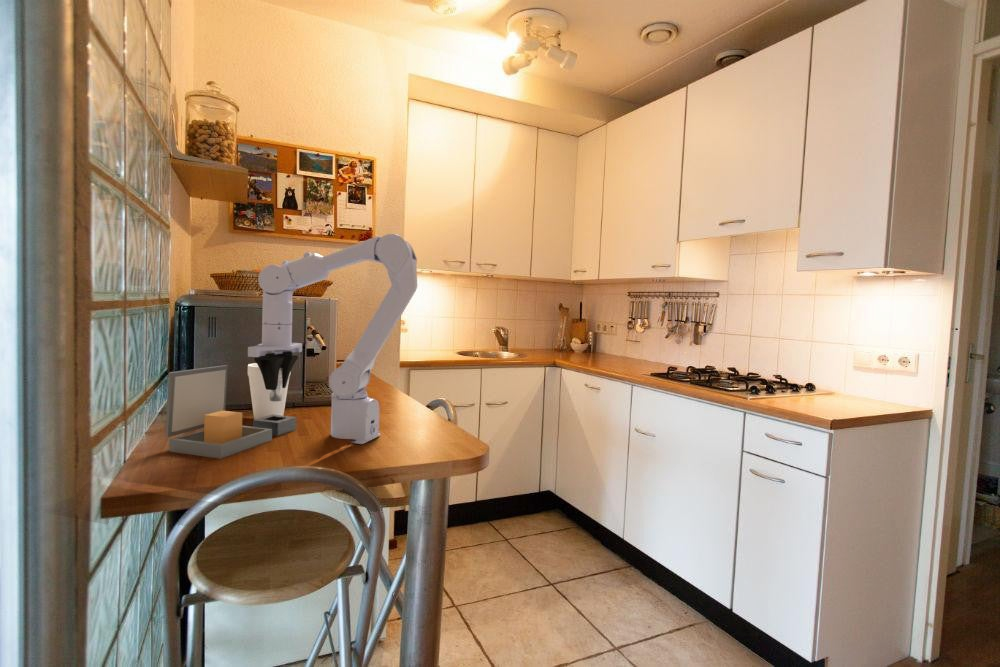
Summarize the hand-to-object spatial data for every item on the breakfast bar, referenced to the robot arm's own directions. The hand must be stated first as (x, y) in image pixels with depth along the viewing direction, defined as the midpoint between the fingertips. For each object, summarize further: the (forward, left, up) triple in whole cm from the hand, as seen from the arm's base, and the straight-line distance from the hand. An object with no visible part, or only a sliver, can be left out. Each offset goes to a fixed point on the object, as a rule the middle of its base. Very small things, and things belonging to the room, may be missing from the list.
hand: (275, 388), depth 106 cm
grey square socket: (0, 0, -10) cm, 10 cm away
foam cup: (+11, -12, -10) cm, 19 cm away
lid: (+7, +12, -1) cm, 14 cm away
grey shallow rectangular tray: (+2, +13, -10) cm, 16 cm away
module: (+2, +13, -9) cm, 15 cm away
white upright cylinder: (0, 0, -2) cm, 3 cm away
